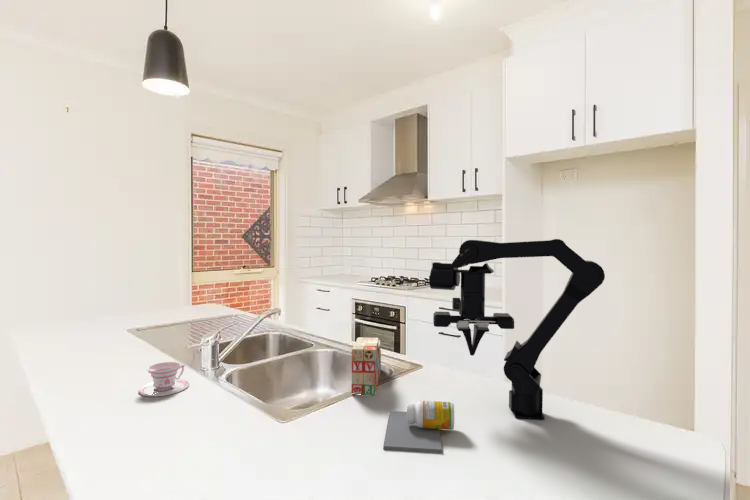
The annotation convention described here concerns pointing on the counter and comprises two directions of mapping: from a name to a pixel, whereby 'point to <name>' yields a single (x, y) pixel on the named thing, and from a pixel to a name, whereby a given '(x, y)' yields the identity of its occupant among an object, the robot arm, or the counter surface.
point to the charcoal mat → (410, 435)
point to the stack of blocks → (366, 365)
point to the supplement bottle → (431, 414)
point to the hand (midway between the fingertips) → (471, 355)
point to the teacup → (165, 379)
